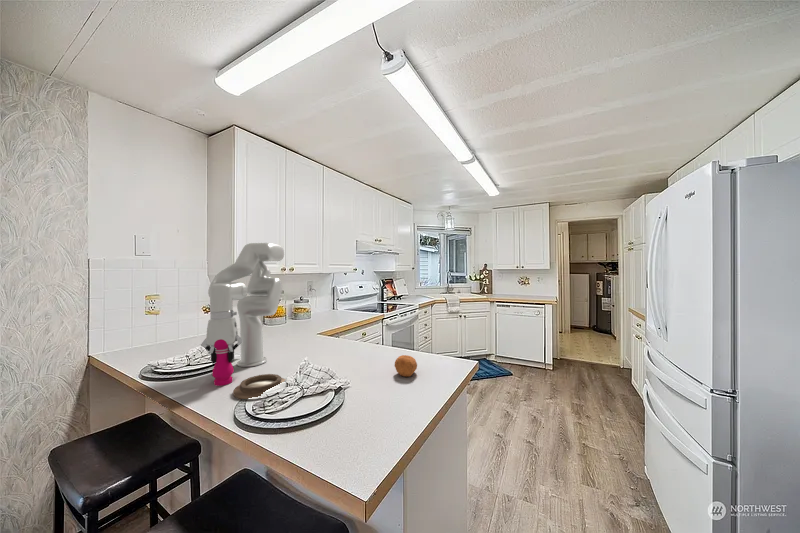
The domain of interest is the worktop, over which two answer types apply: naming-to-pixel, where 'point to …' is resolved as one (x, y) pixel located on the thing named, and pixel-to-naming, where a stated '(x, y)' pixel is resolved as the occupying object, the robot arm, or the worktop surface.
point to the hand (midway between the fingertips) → (222, 361)
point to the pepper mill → (222, 364)
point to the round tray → (256, 385)
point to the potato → (405, 365)
